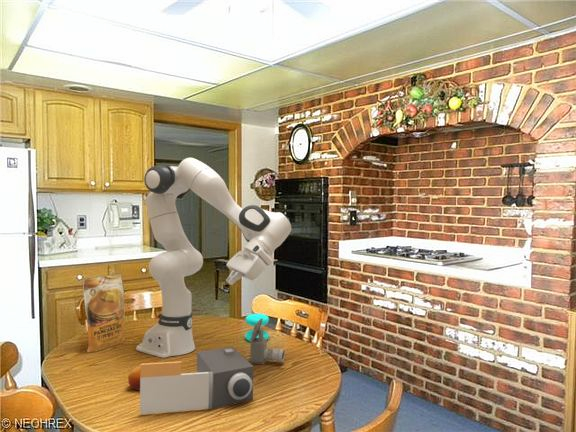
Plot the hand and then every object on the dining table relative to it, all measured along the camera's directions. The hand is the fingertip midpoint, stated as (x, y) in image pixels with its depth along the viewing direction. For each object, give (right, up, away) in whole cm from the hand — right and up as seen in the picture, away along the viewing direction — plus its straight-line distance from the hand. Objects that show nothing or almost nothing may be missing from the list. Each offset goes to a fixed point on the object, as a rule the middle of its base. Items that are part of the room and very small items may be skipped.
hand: (228, 283), depth 132 cm
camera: (+12, -31, +13) cm, 36 cm away
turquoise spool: (+6, -31, +38) cm, 49 cm away
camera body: (0, -32, -10) cm, 33 cm away
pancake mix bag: (-53, -30, +26) cm, 66 cm away
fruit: (-26, -31, -7) cm, 41 cm away
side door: (-11, -31, -22) cm, 40 cm away
